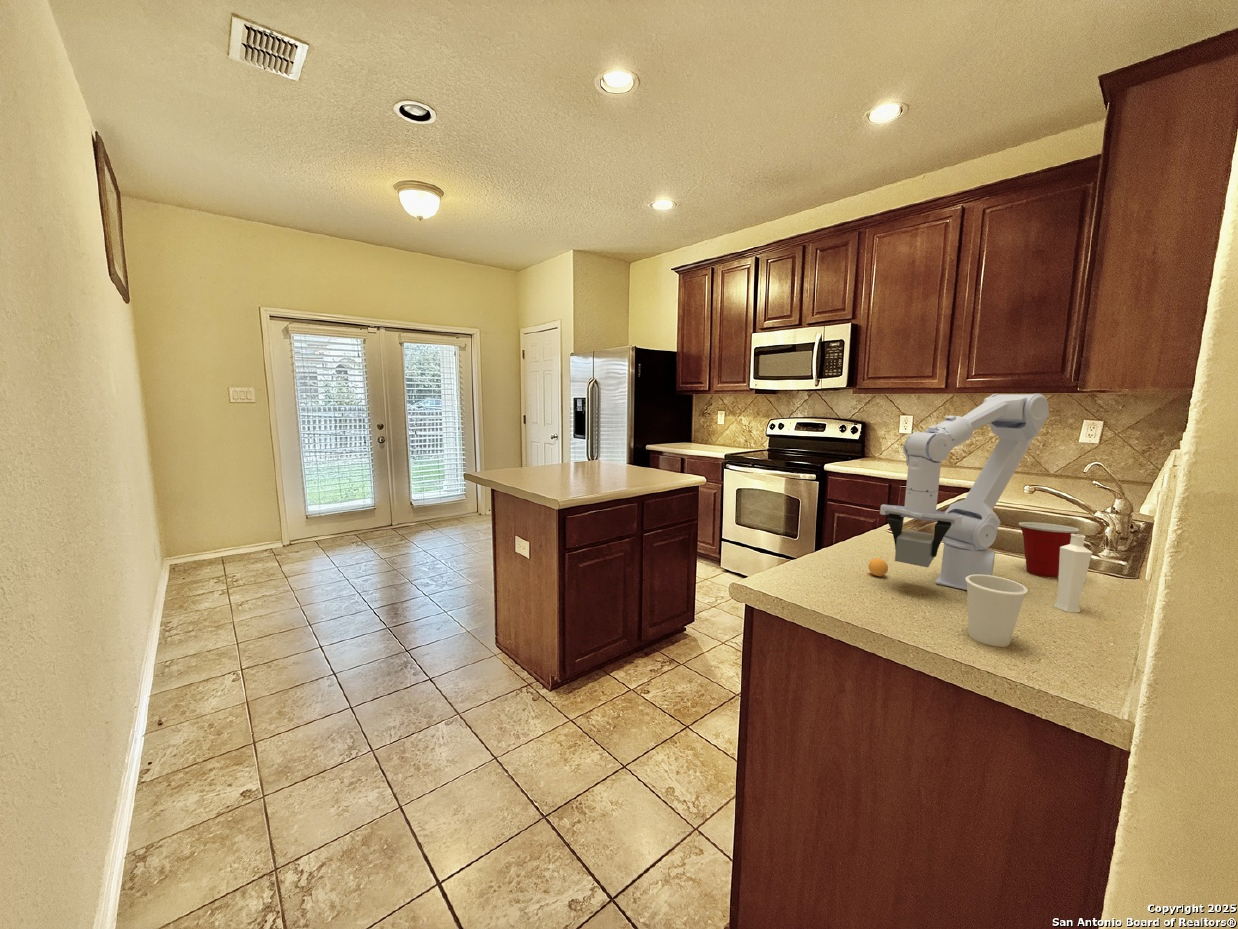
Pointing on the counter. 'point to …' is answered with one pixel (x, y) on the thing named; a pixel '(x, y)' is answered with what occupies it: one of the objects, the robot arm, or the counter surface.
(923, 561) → the gray block
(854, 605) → the counter surface
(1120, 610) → the counter surface
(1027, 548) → the plastic cup
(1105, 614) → the counter surface
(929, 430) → the robot arm
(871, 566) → the ball
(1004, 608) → the dixie cup
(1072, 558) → the perfume bottle
